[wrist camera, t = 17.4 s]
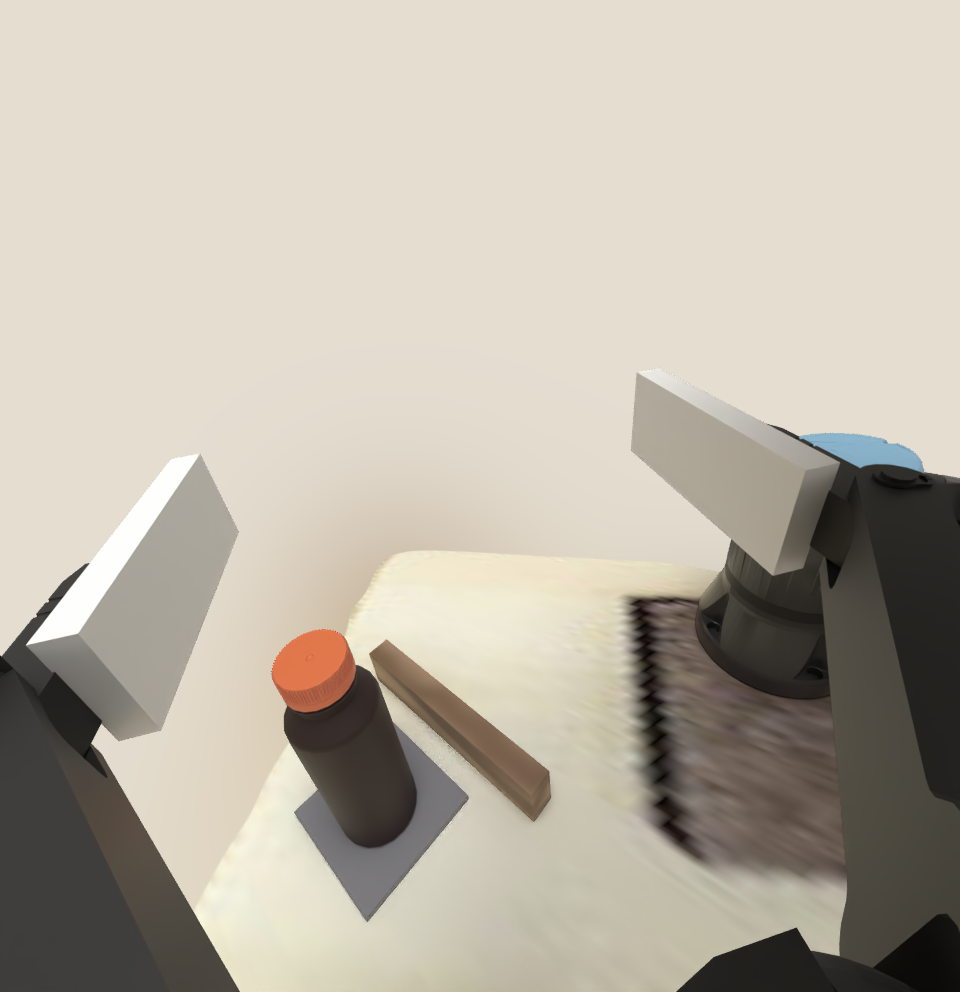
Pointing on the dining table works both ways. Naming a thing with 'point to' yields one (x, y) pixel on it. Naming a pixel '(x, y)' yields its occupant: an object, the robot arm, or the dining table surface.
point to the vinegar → (345, 737)
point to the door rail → (465, 730)
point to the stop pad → (385, 866)
